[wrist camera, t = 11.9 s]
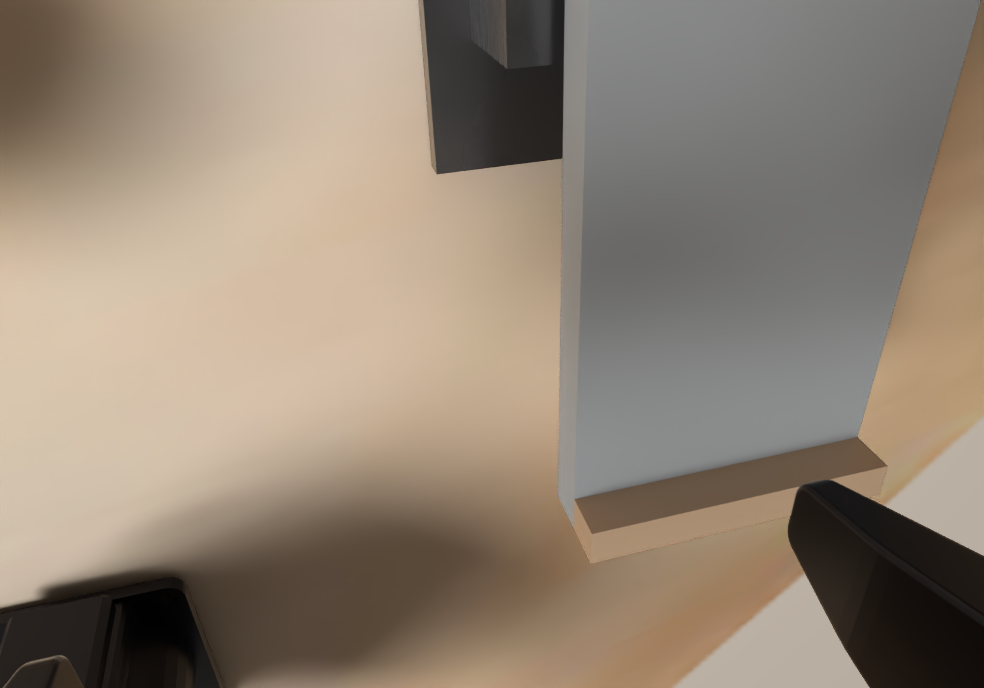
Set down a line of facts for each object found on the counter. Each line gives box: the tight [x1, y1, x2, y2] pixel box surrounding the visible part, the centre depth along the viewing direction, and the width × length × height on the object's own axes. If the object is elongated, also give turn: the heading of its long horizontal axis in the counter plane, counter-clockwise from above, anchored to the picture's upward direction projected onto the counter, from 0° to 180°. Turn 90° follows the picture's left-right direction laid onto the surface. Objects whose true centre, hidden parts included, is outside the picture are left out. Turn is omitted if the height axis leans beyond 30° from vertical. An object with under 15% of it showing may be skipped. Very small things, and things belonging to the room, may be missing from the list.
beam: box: [558, 0, 981, 564], centre depth 14 cm, size 22×8×2 cm, turn 2°
